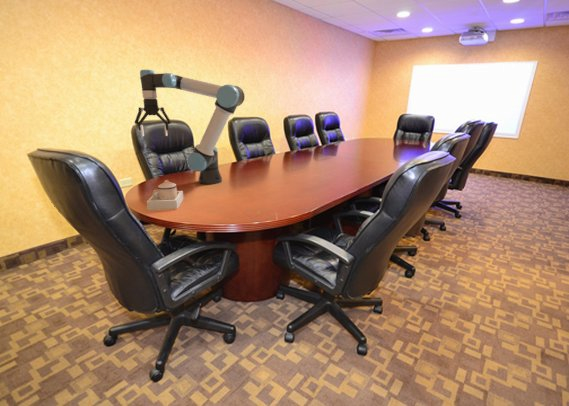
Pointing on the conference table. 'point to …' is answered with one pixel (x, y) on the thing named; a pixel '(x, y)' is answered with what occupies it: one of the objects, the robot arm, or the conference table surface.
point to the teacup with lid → (166, 191)
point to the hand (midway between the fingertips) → (154, 136)
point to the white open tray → (164, 202)
